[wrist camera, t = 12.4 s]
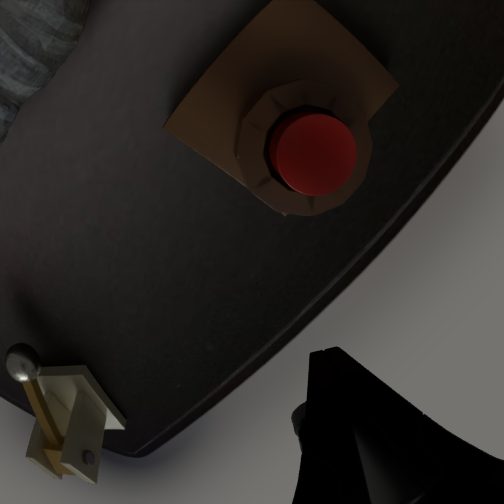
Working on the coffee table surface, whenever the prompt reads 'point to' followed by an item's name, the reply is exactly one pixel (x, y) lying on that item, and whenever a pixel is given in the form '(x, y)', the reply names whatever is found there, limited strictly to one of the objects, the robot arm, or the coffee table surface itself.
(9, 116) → the seashell
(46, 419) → the lever
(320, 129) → the button
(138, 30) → the coffee table surface
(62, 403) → the bracket
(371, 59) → the button box
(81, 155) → the coffee table surface
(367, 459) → the robot arm
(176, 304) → the coffee table surface
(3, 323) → the coffee table surface
